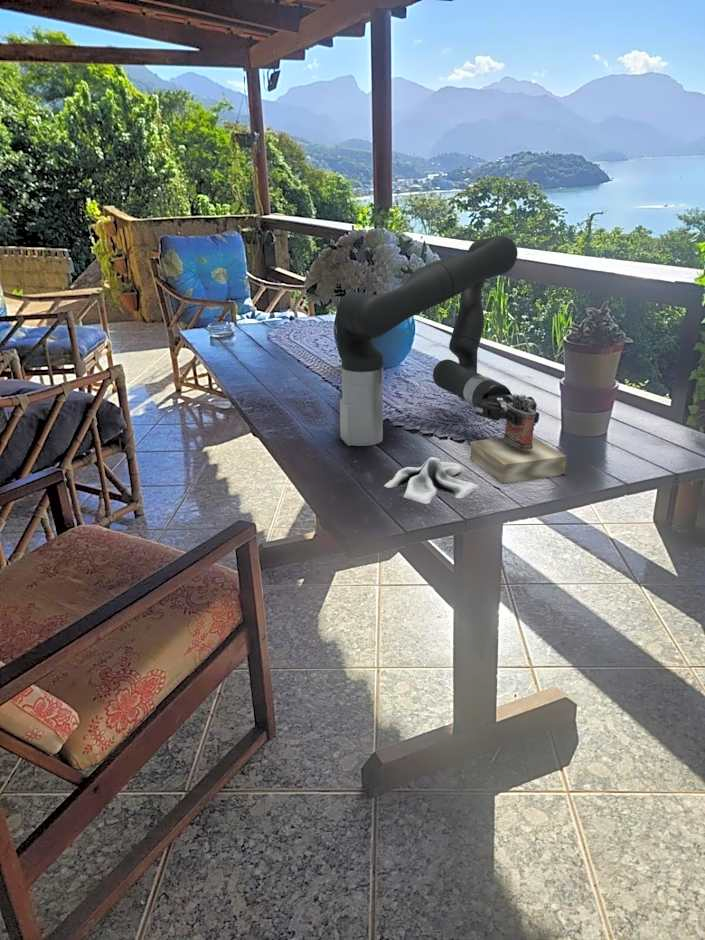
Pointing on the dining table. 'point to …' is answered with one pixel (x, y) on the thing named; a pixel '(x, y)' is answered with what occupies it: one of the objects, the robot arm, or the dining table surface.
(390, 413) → the dining table surface
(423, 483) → the cloth
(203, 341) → the dining table surface
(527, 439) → the lighter
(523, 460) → the base block
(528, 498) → the dining table surface
